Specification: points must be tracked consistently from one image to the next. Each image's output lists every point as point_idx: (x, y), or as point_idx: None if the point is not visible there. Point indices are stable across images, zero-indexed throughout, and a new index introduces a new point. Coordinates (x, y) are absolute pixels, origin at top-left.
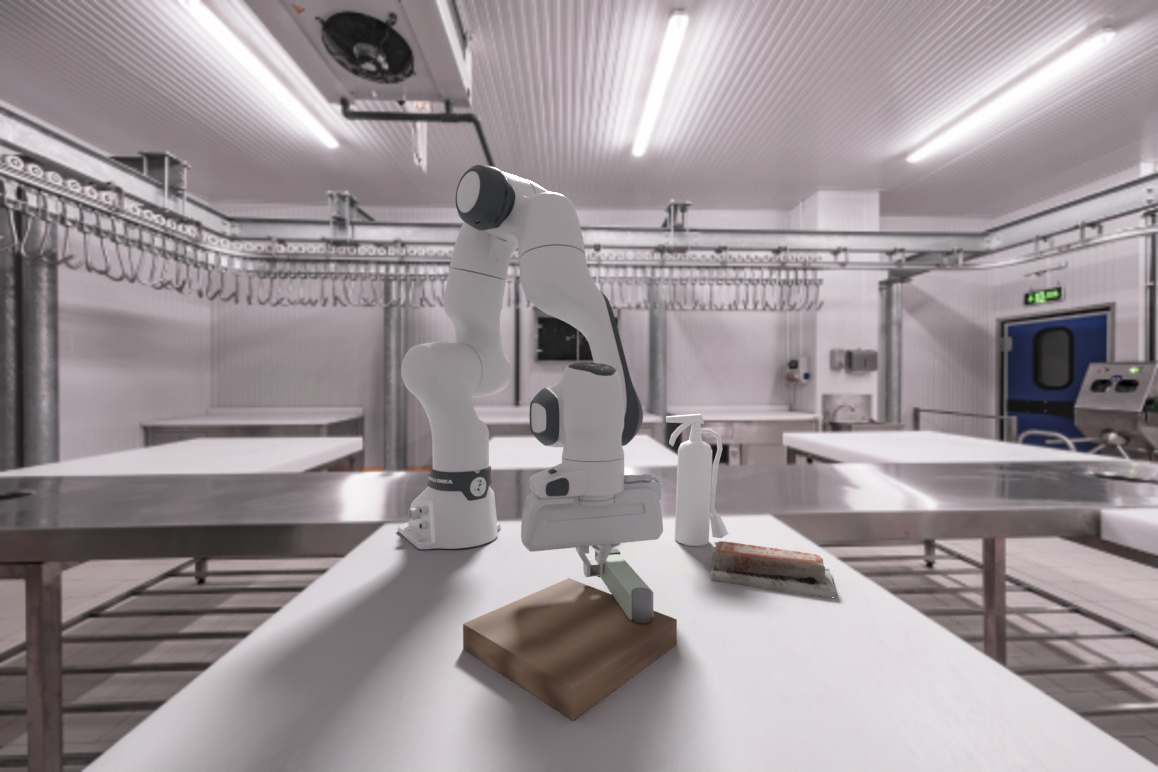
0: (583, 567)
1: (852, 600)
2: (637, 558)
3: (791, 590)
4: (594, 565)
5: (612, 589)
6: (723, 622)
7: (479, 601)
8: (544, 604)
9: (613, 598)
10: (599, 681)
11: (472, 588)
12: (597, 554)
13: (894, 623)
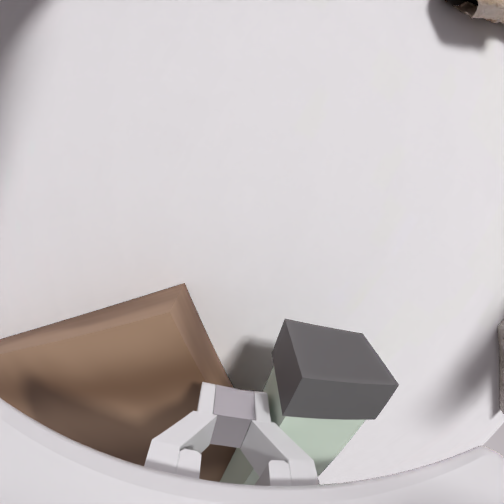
0: (200, 393)
1: (500, 413)
2: (490, 144)
3: (500, 392)
4: (222, 443)
5: (237, 457)
6: (383, 447)
7: (3, 186)
8: (72, 398)
9: (233, 449)
10: None
11: (11, 108)
12: (285, 405)
13: (471, 448)
